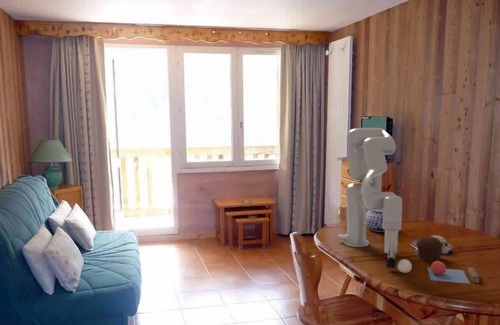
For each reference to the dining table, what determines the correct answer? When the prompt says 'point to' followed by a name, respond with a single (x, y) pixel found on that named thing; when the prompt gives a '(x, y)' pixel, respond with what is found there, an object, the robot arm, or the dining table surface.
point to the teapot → (375, 220)
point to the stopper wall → (473, 275)
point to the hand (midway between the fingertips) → (390, 266)
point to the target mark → (449, 276)
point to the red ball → (438, 268)
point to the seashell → (444, 243)
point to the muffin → (429, 248)
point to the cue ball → (404, 266)
